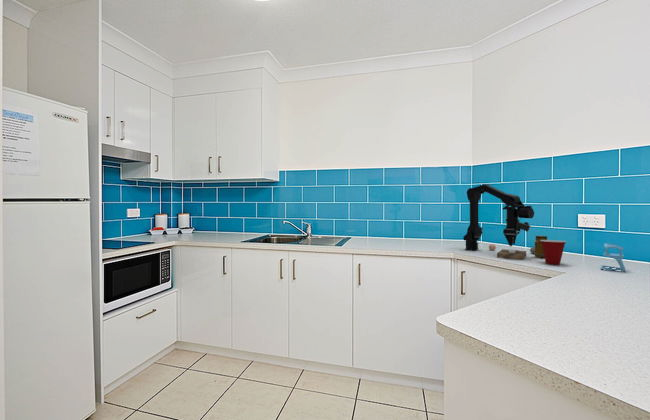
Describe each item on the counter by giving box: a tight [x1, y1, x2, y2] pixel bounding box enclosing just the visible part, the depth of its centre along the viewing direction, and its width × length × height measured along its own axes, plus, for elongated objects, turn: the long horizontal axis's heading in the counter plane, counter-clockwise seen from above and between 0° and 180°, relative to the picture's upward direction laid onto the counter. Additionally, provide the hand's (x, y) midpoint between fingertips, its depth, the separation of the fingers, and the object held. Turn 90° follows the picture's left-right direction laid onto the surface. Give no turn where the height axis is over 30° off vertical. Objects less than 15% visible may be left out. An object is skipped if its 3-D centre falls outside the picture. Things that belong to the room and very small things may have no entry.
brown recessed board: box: [496, 248, 527, 261], centre depth 173 cm, size 12×16×2 cm
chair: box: [600, 242, 627, 272], centre depth 138 cm, size 8×8×12 cm
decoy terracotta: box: [488, 243, 497, 251], centre depth 193 cm, size 4×4×4 cm
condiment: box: [532, 235, 548, 260], centre depth 168 cm, size 7×8×12 cm
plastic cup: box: [540, 239, 567, 266], centre depth 153 cm, size 11×11×12 cm
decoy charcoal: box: [529, 246, 535, 255], centre depth 179 cm, size 4×4×4 cm
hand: (512, 245), depth 172 cm, fingers open, 9 cm apart
